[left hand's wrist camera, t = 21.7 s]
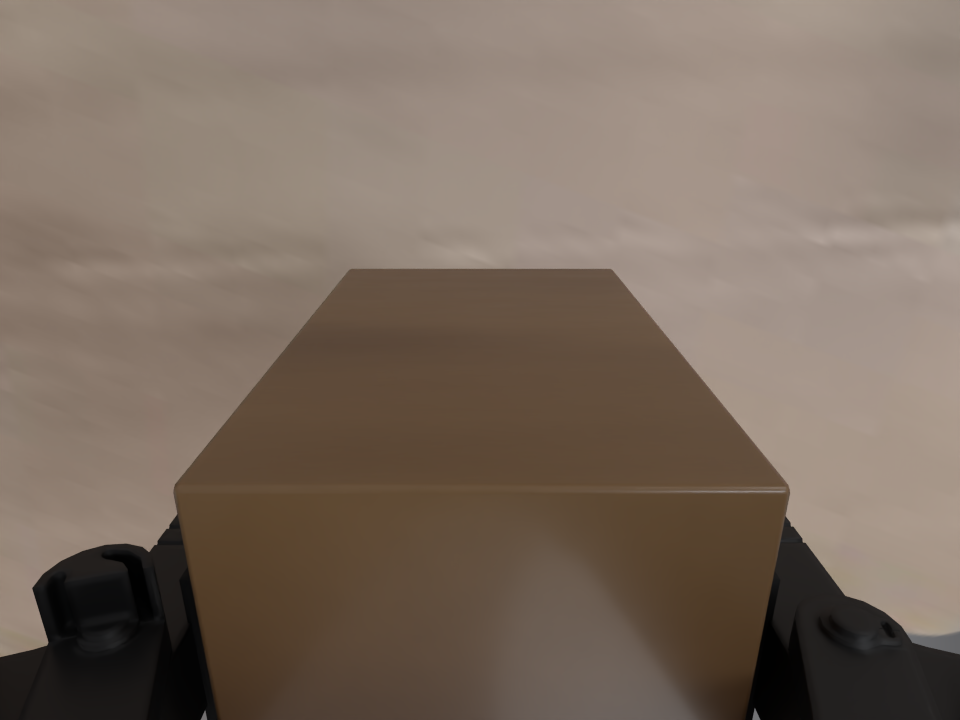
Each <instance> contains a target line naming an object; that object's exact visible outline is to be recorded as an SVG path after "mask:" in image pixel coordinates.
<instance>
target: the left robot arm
mask: <svg viewBox="0 0 960 720" xmlns="http://www.w3.org/2000/svg"><path fill="white" fill-rule="evenodd" d="M169 526H170V527H169V529H166V530H165V532H164V533H163V534H162V536H161V537H160V539H159V540H158V544H157V545H154V547H153V548H152V549H151V551H150V552H148V551H147V550H145V549H144V548H143V547H140V546H135V545H130V544H113V545H104V546H100V547H96V548H92V549H89V550H85V551H82V552H80V553H78V554H75V555H73V556H71V557H69V558H67V559H64V560H62V561H61V562H59V563H58V564H56V565H55V566H54V567H52V568H51V569H50V570H48V571H47V572H45V573H44V574H43V575H42V576H41V578H40V579H39V580H38V582H37V583H36V584H35V585H34V587H33V588H32V589H33V592H34V595H35V599H36V602H37V605H38V609H39V612H40V615H41V619H42V622H43V625H44V628H45V632H46V635H47V638H48V642H49V643H48V645H47V646H44V647H41V648H37V649H34V650H30V651H26V652H21V653H17V654H13V655H8V656H4V657H0V720H201V718H202V716H203V713H204V711H206V716H207V720H218V719H217V714H216V709H215V704H214V699H213V693H212V688H211V683H210V678H209V673H208V668H207V663H206V657H205V652H204V647H203V642H202V637H201V632H200V627H199V621H198V616H197V611H196V606H195V601H194V596H193V591H192V585H191V580H190V575H189V570H188V565H187V560H186V555H185V549H184V544H183V539H182V534H181V529H180V524H179V519H178V514H177V516H176V517H175V518H174V520H173V521H172V522H171V524H170V525H169ZM754 708H755V709H756V711H757V713H758V715H759V718H760V720H960V655H959V654H955V653H951V652H946V651H942V650H938V649H933V648H929V647H925V646H921V645H918V644H915V643H912V642H911V640H910V638H909V637H908V635H907V634H906V632H905V631H904V629H903V628H902V626H900V625H899V624H898V623H897V622H896V621H894V620H893V619H892V618H891V617H890V616H888V615H887V614H886V613H885V612H883V611H881V610H879V609H877V608H875V607H873V606H871V605H869V604H868V603H866V602H864V601H860V600H857V599H854V598H850V597H847V596H845V595H844V594H843V592H842V591H841V590H840V588H839V587H838V586H837V584H836V583H835V582H834V580H833V579H832V578H831V576H830V575H829V574H828V572H827V571H826V570H825V568H824V567H823V566H822V564H821V563H820V562H819V560H818V559H817V558H816V556H815V555H814V554H813V552H812V551H811V550H810V548H809V547H808V546H807V544H806V543H803V541H802V538H801V536H800V535H799V534H798V532H797V531H796V530H795V528H794V527H791V525H790V522H789V520H788V519H787V518H786V516H785V521H784V526H783V531H782V536H781V541H780V546H779V551H778V556H777V561H776V566H775V571H774V576H773V581H772V586H771V591H770V597H769V602H768V607H767V612H766V617H765V622H764V627H763V632H762V637H761V642H760V647H759V652H758V657H757V662H756V667H755V672H754V678H753V683H752V688H751V693H750V698H749V703H748V708H747V713H746V718H745V720H752V718H753V713H754Z"/></svg>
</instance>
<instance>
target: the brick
mask: <svg viewBox="0 0 960 720" xmlns="http://www.w3.org/2000/svg"><path fill="white" fill-rule="evenodd" d="M789 495H790V489H789V486H788V484H787V483H786V482H785V480H784V479H783V478H782V477H781V475H780V474H779V473H778V472H777V471H776V469H775V468H774V467H773V466H772V464H771V463H770V462H769V461H768V460H767V458H766V457H765V456H764V455H763V453H762V452H761V451H760V450H759V449H758V447H757V446H756V445H755V444H754V442H753V441H752V440H751V439H750V438H749V436H748V435H747V434H746V433H745V431H744V430H743V429H742V428H741V427H740V425H739V424H738V423H737V422H736V420H735V419H734V418H733V417H732V416H731V414H730V413H729V412H728V411H727V409H726V408H725V407H724V406H723V405H722V403H721V402H720V401H719V400H718V398H717V397H716V396H715V395H714V394H713V392H712V391H711V390H710V389H709V387H708V386H707V385H706V384H705V383H704V381H703V380H702V379H701V378H700V376H699V375H698V374H697V373H696V372H695V370H694V369H693V368H692V367H691V365H690V364H689V363H688V362H687V361H686V359H685V358H684V357H683V356H682V354H681V353H680V352H679V351H678V350H677V348H676V347H675V346H674V345H673V343H672V342H671V341H670V340H669V339H668V337H667V336H666V335H665V334H664V332H663V331H662V330H661V329H660V328H659V326H658V325H657V324H656V323H655V321H654V320H653V319H652V318H651V317H650V315H649V314H648V313H647V312H646V310H645V309H644V308H643V307H642V306H641V304H640V303H639V302H638V301H637V299H636V298H635V297H634V296H633V295H632V293H631V292H630V291H629V290H628V288H627V287H626V286H625V285H624V284H623V282H622V281H621V280H620V279H619V277H618V276H617V275H616V274H615V273H614V271H613V270H611V269H351V270H349V271H348V272H347V274H346V275H345V276H344V277H343V278H342V280H341V281H340V282H339V283H338V285H337V286H336V287H335V288H334V290H333V291H332V292H331V293H330V294H329V296H328V297H327V298H326V299H325V301H324V302H323V303H322V304H321V306H320V307H319V308H318V309H317V310H316V312H315V313H314V314H313V315H312V317H311V318H310V319H309V320H308V322H307V323H306V324H305V325H304V326H303V328H302V329H301V330H300V331H299V333H298V334H297V335H296V336H295V338H294V339H293V340H292V341H291V342H290V344H289V345H288V346H287V347H286V349H285V350H284V351H283V352H282V354H281V355H280V356H279V357H278V358H277V360H276V361H275V362H274V363H273V365H272V366H271V367H270V368H269V370H268V371H267V372H266V373H265V374H264V376H263V377H262V378H261V379H260V381H259V382H258V383H257V384H256V386H255V387H254V388H253V389H252V391H251V392H250V393H249V394H248V395H247V397H246V398H245V399H244V400H243V402H242V403H241V404H240V405H239V407H238V408H237V409H236V410H235V411H234V413H233V414H232V415H231V416H230V418H229V419H228V420H227V421H226V423H225V424H224V425H223V426H222V427H221V429H220V430H219V431H218V432H217V434H216V435H215V436H214V437H213V439H212V440H211V441H210V442H209V443H208V445H207V446H206V447H205V448H204V450H203V451H202V452H201V453H200V455H199V456H198V457H197V458H196V459H195V461H194V462H193V463H192V464H191V466H190V467H189V468H188V469H187V471H186V472H185V473H184V474H183V475H182V477H181V478H180V479H179V480H178V482H177V483H176V484H175V487H174V498H175V503H176V508H177V513H178V519H179V524H180V529H181V534H182V539H183V544H184V549H185V555H186V560H187V565H188V570H189V575H190V580H191V585H192V591H193V596H194V601H195V606H196V611H197V616H198V621H199V627H200V632H201V637H202V642H203V647H204V652H205V657H206V663H207V668H208V673H209V678H210V683H211V688H212V693H213V699H214V704H215V709H216V714H217V719H218V720H745V718H746V713H747V708H748V703H749V698H750V693H751V688H752V683H753V678H754V672H755V667H756V662H757V657H758V652H759V647H760V642H761V637H762V632H763V627H764V622H765V617H766V612H767V607H768V602H769V597H770V591H771V586H772V581H773V576H774V571H775V566H776V561H777V556H778V551H779V546H780V541H781V536H782V531H783V526H784V521H785V515H786V510H787V505H788V500H789Z"/></svg>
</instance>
